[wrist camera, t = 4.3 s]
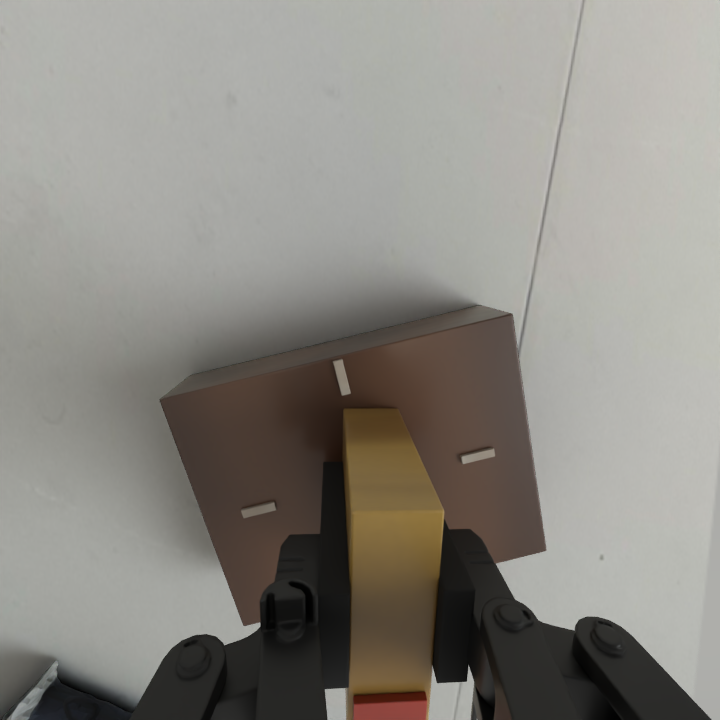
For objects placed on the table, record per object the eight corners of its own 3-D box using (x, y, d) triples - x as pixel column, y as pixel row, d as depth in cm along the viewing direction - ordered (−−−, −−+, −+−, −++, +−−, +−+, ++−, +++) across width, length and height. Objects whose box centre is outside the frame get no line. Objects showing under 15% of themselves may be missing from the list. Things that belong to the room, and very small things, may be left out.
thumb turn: (342, 407, 16) (351, 518, 9) (398, 407, 16) (448, 516, 9) (341, 550, 18) (346, 741, 11) (392, 549, 18) (430, 736, 11)
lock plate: (481, 304, 19) (515, 313, 16) (513, 506, 22) (549, 553, 18) (189, 375, 19) (156, 400, 16) (257, 570, 22) (242, 630, 18)
